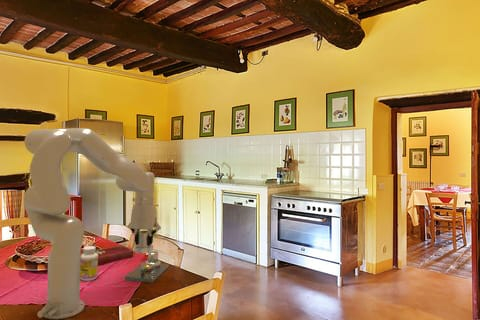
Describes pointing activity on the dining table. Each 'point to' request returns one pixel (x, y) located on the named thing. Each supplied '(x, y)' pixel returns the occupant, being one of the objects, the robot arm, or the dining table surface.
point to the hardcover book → (114, 254)
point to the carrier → (148, 269)
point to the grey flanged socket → (143, 243)
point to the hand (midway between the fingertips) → (143, 244)
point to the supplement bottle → (89, 264)
